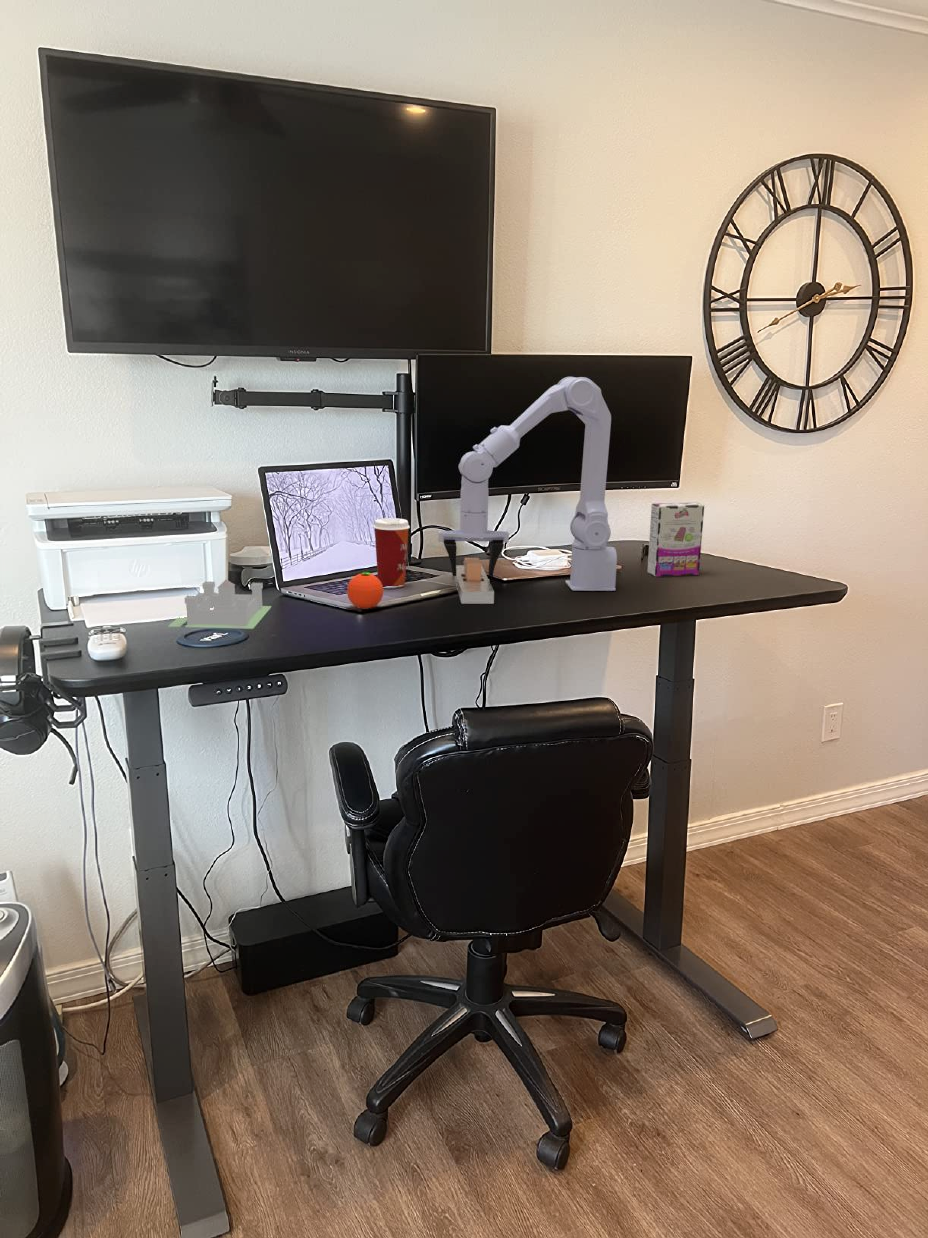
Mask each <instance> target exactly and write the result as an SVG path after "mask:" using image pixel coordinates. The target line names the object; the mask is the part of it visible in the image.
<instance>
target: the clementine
mask: <svg viewBox="0 0 928 1238" xmlns="http://www.w3.org/2000/svg"><path fill="white" fill-rule="evenodd" d="M346 588H347V590H346V593H347V598H348V600H349V602H351V604H352V605H353V606H354V607H356V608H358V607H359V608H358V609H361V608H364V609H363V610H368V609H367V608H370V609H372V608H371V607H373V608H375V607H376V606H377V605H378V604H379V603H380V602H381V601H382V599H383V597H384V588H383V586H382V583H381V581H380V580H379V579H378V576H376V575H374V574H372V573H371V572H365V571H363V572H362V573H358V574H357V575H355V576H353V577H352V578H351V579H350V580H349V582H348V584H347V587H346Z"/></svg>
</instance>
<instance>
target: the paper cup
mask: <svg viewBox="0 0 928 1238" xmlns="http://www.w3.org/2000/svg"><path fill="white" fill-rule="evenodd" d="M372 527H373V529H374V539H375V556H376V573H377V578H378V579H379V580H380V581H381V583H382V586H399V585H404V584H405V583H406V573H407V572H406V570H407V557H408V555H407V554H408V541H409V529H410V528H411V527H410V525H409V521H408V520H407V519H404V518H397V517H389V518H388V517H385V518H378V519H375V521H374V524H373V525H372ZM405 585H406V584H405ZM405 585H404V586H405Z"/></svg>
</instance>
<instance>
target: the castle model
mask: <svg viewBox="0 0 928 1238" xmlns="http://www.w3.org/2000/svg"><path fill="white" fill-rule="evenodd" d="M263 585H264V584H263V582H252V583H251V584H250V590H251V591H252V592H251V594H250V593H249V594H247V593H245V594H244V593H243V594H242V593H241V594H239V593H238V594H237V593H236V589H235V586H236V583H233V582H231V581H230V580H228V579H224V581H222V583H221V584H220V585H219V586H218V587H217V590H218V593H215V588H216V582H215V581H209V580H208V581H207V580H205V581H204V582H203V583H202V589H203V592H198V593H197V594H196V595H186V597H184V604H185V605H186V610H187V617H184V618H180V617H179V616H178V617H179V618H178V617H177V618H176V619H175V620H174V621H172V622H171V623H170V624H169V625H168V626H167V627H169V628H181V626H184V628H201V629H202V628H203V629H204V628H205V629H206V628H207V629H246V630H247V629H248V630H249V629H250V630H253V629H254V628H255V627H256V626H257V625H258V623H260V621H261V620H262V619H263V618H264V616H266V614H267V613H268V612H269V611H270V610H271V608H272V605H263V592H262V591H263V587H264V586H263ZM213 607H214V609H213V610H210V608H213ZM185 623H187V624H186V625H184V624H185Z"/></svg>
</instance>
